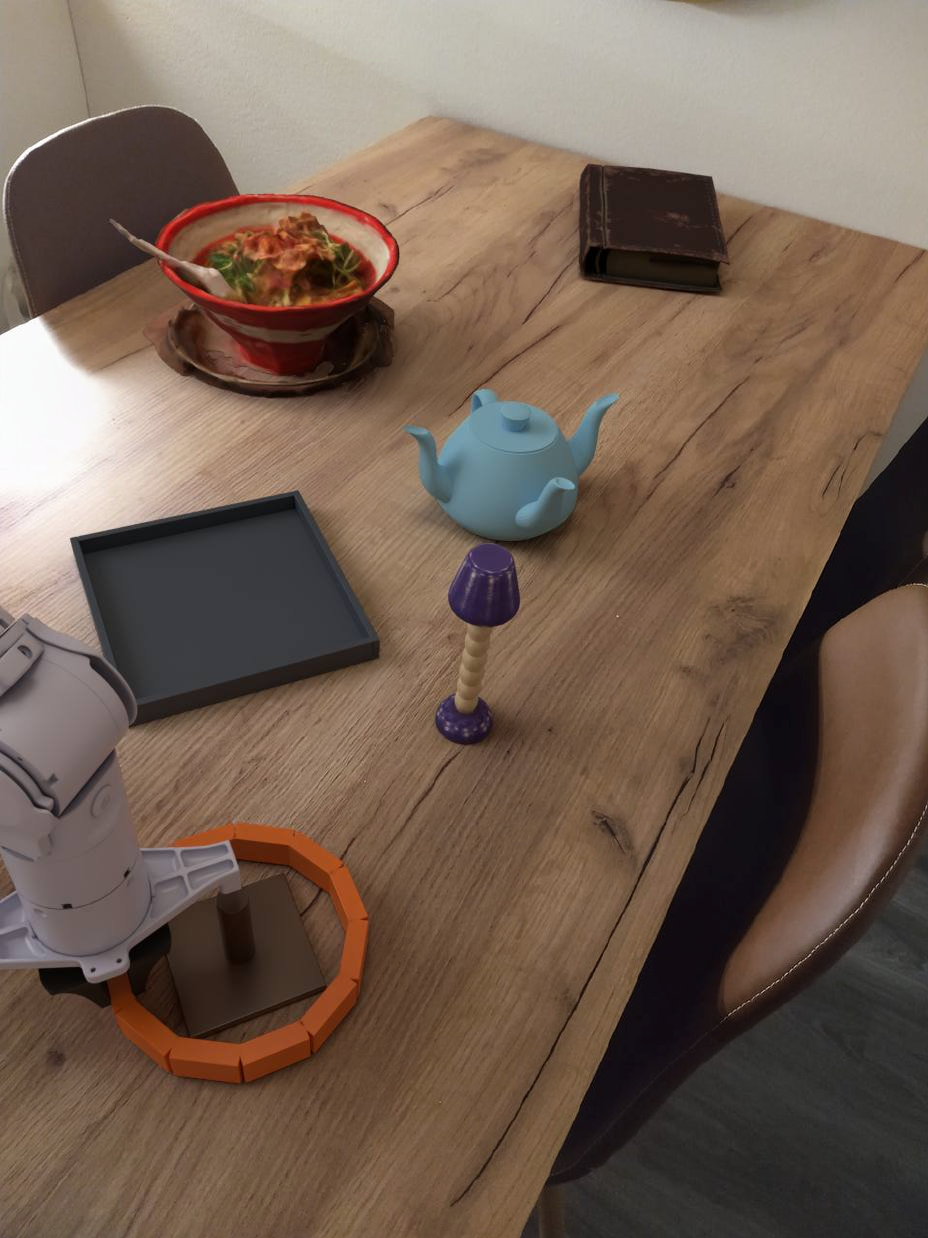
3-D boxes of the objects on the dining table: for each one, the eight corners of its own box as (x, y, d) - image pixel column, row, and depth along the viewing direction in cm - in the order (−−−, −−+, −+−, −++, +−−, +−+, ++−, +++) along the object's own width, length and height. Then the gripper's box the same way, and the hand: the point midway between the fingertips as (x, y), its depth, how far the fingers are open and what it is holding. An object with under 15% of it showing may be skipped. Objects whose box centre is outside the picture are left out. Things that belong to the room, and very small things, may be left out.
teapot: (464, 439, 100) (473, 345, 93) (609, 487, 96) (630, 394, 89) (396, 523, 90) (400, 426, 83) (555, 580, 86) (574, 483, 79)
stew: (130, 424, 97) (102, 263, 86) (134, 298, 113) (111, 149, 102) (421, 410, 103) (431, 258, 91) (384, 293, 119) (389, 151, 107)
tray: (125, 728, 72) (120, 710, 70) (74, 556, 84) (69, 537, 82) (379, 657, 79) (380, 639, 77) (299, 507, 90) (298, 489, 89)
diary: (576, 280, 125) (583, 240, 122) (576, 196, 143) (582, 159, 139) (727, 298, 125) (738, 259, 122) (708, 212, 143) (718, 176, 140)
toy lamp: (509, 720, 75) (541, 551, 64) (476, 761, 72) (502, 592, 61) (455, 690, 77) (476, 520, 65) (420, 730, 74) (435, 558, 62)
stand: (190, 1043, 57) (177, 990, 52) (156, 921, 62) (141, 863, 57) (326, 989, 60) (325, 935, 55) (284, 877, 65) (279, 818, 60)
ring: (142, 1126, 54) (135, 1110, 52) (87, 891, 63) (80, 871, 61) (402, 1018, 59) (404, 1000, 57) (317, 816, 68) (316, 795, 66)
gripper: (-87, 988, 43) (-9, 1106, 52) (251, 873, 48) (266, 1000, 57) (-101, 852, 47) (-27, 984, 57) (211, 759, 52) (231, 895, 62)
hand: (119, 985), depth 57 cm, fingers closed on ring, 1 cm apart
